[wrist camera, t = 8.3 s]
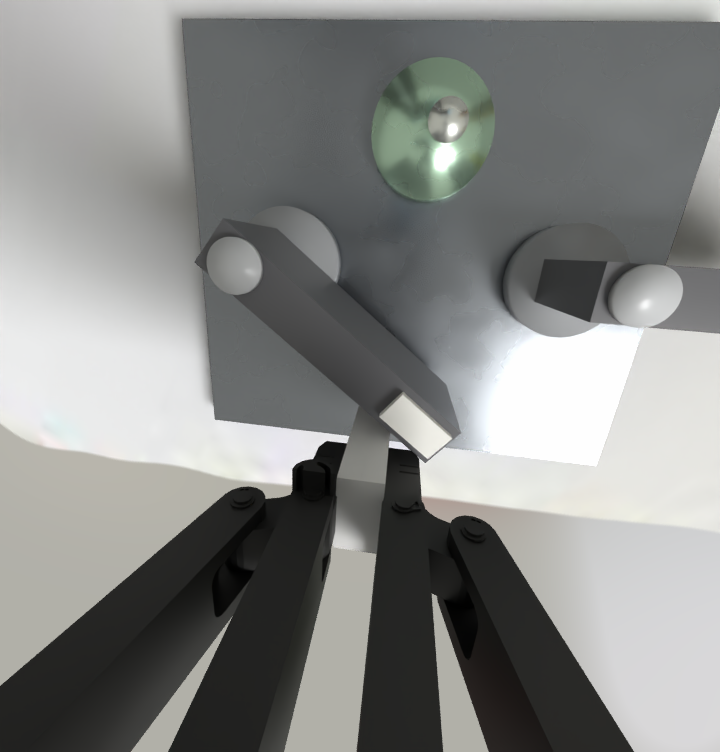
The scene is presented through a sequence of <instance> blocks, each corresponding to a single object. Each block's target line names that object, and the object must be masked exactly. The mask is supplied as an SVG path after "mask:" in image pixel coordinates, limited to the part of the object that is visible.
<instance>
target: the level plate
mask: <svg viewBox="0 0 720 752" xmlns="http://www.w3.org/2000/svg"><path fill="white" fill-rule="evenodd" d="M182 24H183V37H184V49H185V61H186V73H187V85H188V98H189V110H190V122H191V134H192V146H193V158H194V171H195V183H196V195H197V207H198V219H199V232H200V244H201V251H202V250H203V248H204V247H205V245H206V244H207V242H208V240H209V239H210V237H211V236H212V234H213V233H214V231H215V230H216V228H217V226H218V225H219V223H220V222H221V220H222V219H223V218H226V219H231V220H236V221H241V222H246V223H248V222H249V221H250V220H251V219H252V218H253V217H254V216H255V215H257V214H258V213H259V212H261V211H263V210H265V209H268V208H271V207H276V206H290V207H295V208H298V209H301V210H303V211H306V212H308V213H310V214H312V215H314V216H316V217H317V218H319V219H320V220H321V221H322V222H324V223H325V225H326V226H327V227H328V228H329V229H330V231H331V232H332V233H333V235H334V237H335V239H336V241H337V244H338V246H339V250H340V256H341V271H340V276H339V280H338V282H337V284H338V285H339V286H340V287H341V288H342V289H343V290H344V291H345V292H346V293H348V294H349V295H350V296H351V297H352V298H353V299H354V300H355V301H356V302H357V303H358V304H360V305H361V306H362V307H363V308H364V309H365V310H366V311H367V312H368V313H369V314H370V315H371V316H373V317H374V318H375V319H376V320H377V321H378V322H379V323H380V324H381V325H382V326H383V327H384V328H386V329H387V330H388V331H389V332H390V333H391V334H392V335H393V336H394V337H395V338H396V339H398V340H399V341H400V342H401V343H402V344H403V345H404V346H405V347H406V348H407V349H408V350H409V351H411V352H412V353H413V354H414V355H415V356H416V357H417V358H418V359H419V360H420V361H421V362H422V363H424V364H425V365H426V366H427V367H428V368H429V369H430V370H431V371H432V372H433V373H434V374H436V375H437V376H438V377H439V378H440V379H441V380H442V381H443V382H444V383H445V384H446V385H447V388H448V392H449V395H450V398H451V401H452V405H453V408H454V411H455V414H456V418H457V421H458V424H459V427H460V431H461V434H460V435H458V436H457V437H456V438H455V439H454V440H452V441H451V442H450V443H449V444H447V445H446V446H445V447H446V448H454V449H462V450H470V451H478V452H487V453H495V454H503V455H511V456H520V457H528V458H536V459H544V460H553V461H561V462H569V463H577V464H585V465H594V466H596V465H597V462H598V459H599V456H600V454H601V451H602V448H603V445H604V442H605V439H606V436H607V433H608V430H609V427H610V424H611V422H612V419H613V416H614V413H615V410H616V407H617V404H618V401H619V398H620V395H621V392H622V390H623V387H624V384H625V381H626V378H627V375H628V372H629V369H630V366H631V363H632V360H633V358H634V355H635V352H636V349H637V346H638V343H639V340H640V337H641V334H642V331H643V328H634V327H630V326H625V325H613V324H599V325H598V326H596V327H595V328H593V329H591V330H589V331H587V332H585V333H582V334H579V335H576V336H571V337H563V338H558V337H548V336H544V335H541V334H538V333H536V332H534V331H532V330H531V329H529V328H527V327H526V326H524V325H522V324H521V323H520V322H518V321H517V320H516V319H515V318H514V317H513V316H512V315H511V313H510V311H509V310H508V308H507V306H506V304H505V300H504V296H503V278H504V274H505V270H506V268H507V265H508V263H509V261H510V259H511V257H512V256H513V254H514V253H515V252H516V250H517V249H518V248H519V247H520V246H521V245H522V244H523V243H524V242H525V241H526V240H527V239H529V238H530V237H532V236H533V235H534V234H536V233H538V232H540V231H542V230H545V229H547V228H550V227H554V226H559V225H564V224H570V223H591V224H595V225H598V226H601V227H603V228H605V229H607V230H609V231H610V232H612V233H613V234H614V235H615V236H616V237H617V238H618V239H619V240H620V241H621V243H622V244H623V246H624V248H625V249H626V252H627V255H628V258H629V263H637V264H652V265H665V264H666V262H667V259H668V256H669V253H670V250H671V247H672V244H673V241H674V238H675V235H676V233H677V230H678V227H679V224H680V221H681V218H682V215H683V212H684V209H685V206H686V203H687V201H688V198H689V195H690V192H691V189H692V186H693V183H694V180H695V177H696V174H697V171H698V169H699V166H700V163H701V160H702V157H703V154H704V151H705V148H706V145H707V142H708V139H709V137H710V134H711V131H712V128H713V125H714V122H715V119H716V116H717V113H718V110H719V107H720V22H617V21H464V20H311V19H182ZM203 280H204V293H205V305H206V317H207V329H208V341H209V354H210V366H211V378H212V390H213V402H214V414H215V420H223V421H232V422H240V423H248V424H256V425H265V426H273V427H281V428H289V429H297V430H306V431H314V432H322V433H330V434H339V435H347V436H350V433H351V430H352V427H353V423H354V420H355V417H356V414H357V410H358V407H359V405H358V404H357V403H356V402H355V401H353V400H352V399H351V398H350V397H349V396H348V395H346V394H345V393H344V392H343V391H342V390H341V389H340V388H338V387H337V386H336V385H335V384H334V383H333V382H332V381H330V380H329V379H328V378H327V377H326V376H325V375H324V374H322V373H321V372H320V371H319V370H318V369H317V368H315V367H314V366H313V365H312V364H311V363H310V362H309V361H307V360H306V359H305V358H304V357H303V356H302V355H301V354H299V353H298V352H297V351H296V350H295V349H294V348H292V347H291V346H290V345H289V344H288V343H287V342H286V341H284V340H283V339H282V338H281V337H280V336H279V335H278V334H276V333H275V332H274V331H273V330H272V329H271V328H269V327H268V326H267V325H266V324H265V323H264V322H263V321H261V320H260V319H259V318H258V317H257V316H256V315H255V314H253V313H252V312H251V311H250V310H249V309H248V308H247V307H245V306H244V305H243V304H242V303H241V302H240V301H238V300H237V299H236V298H235V297H234V296H233V295H232V294H229V293H226V292H224V291H222V290H221V289H219V288H218V287H217V286H216V285H215V284H214V282H213V281H212V279H211V278H210V276H209V274H207V273H206V272H205V271H204V270H203ZM389 441H396V442H400V441H399V440H398V439H397V438H396V437H395V436H394V435H392V434H391V433H390V437H389Z"/></svg>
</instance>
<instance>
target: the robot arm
mask: <svg viewBox="0 0 720 752" xmlns="http://www.w3.org/2000/svg"><path fill="white" fill-rule="evenodd" d="M389 437H390V432H389V431H388V430H387V429H386V428H384V427H383V426H382V425H381V424H380V423H379V422H378V421H376V420H375V419H374V418H373V417H372V416H371V415H369V414H368V413H367V412H366V411H365V410H364V409H363V408H361V407H360V406H359V407H358V410H357V414H356V417H355V420H354V423H353V427H352V430H351V433H350V436H349V439H348V443H347V444H346V443H338V442H330V441H326V442H325V443H324V444H322V445H321V446H320V447H319V448H318V450H317V452H316V454H315V457H314V459H310V460H305V461H302V462H300V463H298V464H296V465H295V466H294V468H293V469H292V490H293V491H292V493H291V495H288V496H285V497H281V498H271V499H265V495H264V493H263V492H262V491H261V490H259V489H257V488H254V487H240V488H237V489H234V490H231V491H230V492H228V493H227V494H225V495H224V496H223V497H221V498H220V499H219V500H218V501H217V502H216V503H214V504H213V505H212V506H211V507H210V508H208V509H207V510H206V511H205V512H204V513H203V514H201V515H200V516H199V517H198V518H197V519H196V520H194V521H193V522H192V523H191V524H190V525H188V526H187V527H186V528H185V529H184V530H183V531H181V532H180V533H179V534H178V535H177V536H176V537H175V538H173V539H172V540H171V541H170V542H168V543H167V544H166V545H165V546H164V547H163V548H162V549H160V550H159V551H158V552H157V553H156V554H154V555H153V556H152V557H151V558H150V559H149V560H147V561H146V562H145V563H144V564H143V565H142V566H140V567H139V568H138V569H137V570H136V571H134V572H133V573H132V574H131V575H130V576H129V577H128V578H126V579H125V580H124V581H123V582H122V583H120V584H119V585H118V586H117V587H116V588H115V589H113V590H112V591H111V592H110V593H109V594H108V595H106V596H105V597H104V598H103V599H102V600H101V601H99V602H98V603H97V604H96V605H95V606H94V607H92V608H91V609H90V610H89V611H88V612H86V613H85V614H84V615H83V616H82V617H80V618H79V619H78V620H77V621H76V622H75V623H73V624H72V625H71V626H70V627H69V628H68V629H66V630H65V631H64V632H63V633H62V634H61V635H59V636H58V637H57V638H56V639H55V640H54V641H53V642H51V643H50V644H49V645H48V646H46V647H45V648H44V649H43V650H42V651H41V652H39V654H37V655H36V656H35V657H34V658H33V659H31V660H30V661H29V662H28V663H27V664H25V665H24V666H23V667H22V668H21V669H20V670H18V671H17V672H16V673H15V674H14V675H13V676H11V677H10V678H9V679H8V680H7V681H6V682H4V683H3V684H2V685H1V686H0V752H131V751H132V749H133V748H134V747H135V745H136V744H137V743H138V741H139V740H140V739H141V737H142V736H143V735H144V733H145V732H146V730H147V729H148V728H149V727H150V725H151V724H152V722H153V721H154V720H155V719H156V717H157V716H158V715H159V713H160V712H161V710H162V709H163V708H164V707H165V705H166V704H167V703H168V701H169V700H170V699H171V697H172V696H173V695H174V693H175V692H176V691H177V689H178V688H179V687H180V685H181V684H182V682H183V681H184V680H185V679H186V677H187V676H188V675H189V673H190V672H191V671H192V669H193V668H194V667H195V665H196V664H197V662H198V661H199V660H200V659H201V657H202V656H203V655H204V653H205V652H206V651H207V649H208V648H209V647H210V645H211V644H212V643H213V641H214V640H215V639H216V637H217V636H218V634H219V633H220V632H221V631H222V629H223V628H224V627H225V625H226V624H227V623H228V621H229V620H230V618H231V617H232V616H233V617H232V619H231V621H230V623H229V625H228V627H227V630H226V632H225V634H224V636H223V638H222V640H221V642H220V644H219V646H218V648H217V650H216V652H215V655H214V657H213V659H212V661H211V663H210V665H209V667H208V669H207V671H206V673H205V676H204V678H203V680H202V682H201V684H200V686H199V688H198V690H197V692H196V694H195V697H194V699H193V701H192V703H191V705H190V707H189V709H188V711H187V713H186V716H185V718H184V720H183V722H182V724H181V726H180V728H179V730H178V732H177V735H176V737H175V739H174V741H173V743H172V745H171V747H170V749H169V751H168V752H284V749H285V745H286V741H287V737H288V733H289V729H290V724H291V720H292V716H293V712H294V708H295V704H296V700H297V696H298V692H299V688H300V683H301V679H302V675H303V671H304V667H305V663H306V659H307V655H308V651H309V647H310V642H311V638H312V634H313V630H314V626H315V621H316V618H317V614H318V610H319V606H320V601H321V597H322V593H323V589H324V585H325V581H326V577H327V573H328V569H329V564H330V558H331V546H332V543H333V547H335V548H342V549H348V550H355V551H362V552H368V553H375V554H377V555H376V565H375V574H374V583H373V594H372V604H371V614H370V625H369V634H368V645H367V654H366V664H365V674H364V684H363V694H362V704H361V714H360V723H359V734H358V744H357V752H443V745H442V732H441V717H440V705H439V704H440V703H439V690H438V676H437V662H436V649H435V636H434V622H433V607H432V594H434V595H436V596H437V600H438V603H439V606H440V610H441V613H442V615H443V618H444V621H445V624H446V627H447V630H448V633H449V636H450V639H451V642H452V645H453V648H454V651H455V654H456V657H457V660H458V662H459V665H460V668H461V671H462V674H463V677H464V680H465V683H466V686H467V689H468V692H469V695H470V698H471V700H472V704H473V706H474V709H475V712H476V715H477V718H478V721H479V724H480V727H481V730H482V733H483V735H484V739H485V742H486V745H487V748H488V751H489V752H634V751H633V749H632V748H631V746H630V745H629V743H628V741H627V740H626V738H625V737H624V735H623V733H622V732H621V730H620V729H619V727H618V725H617V724H616V722H615V721H614V719H613V717H612V716H611V714H610V713H609V711H608V710H607V708H606V706H605V705H604V703H603V702H602V700H601V698H600V697H599V695H598V694H597V692H596V691H595V689H594V687H593V686H592V684H591V682H590V681H589V680H588V678H587V676H586V675H585V673H584V671H583V670H582V668H581V667H580V665H579V663H578V662H577V660H576V659H575V657H574V656H573V654H572V652H571V651H570V649H569V648H568V646H567V644H566V643H565V641H564V640H563V638H562V636H561V635H560V633H559V632H558V630H557V629H556V627H555V625H554V624H553V622H552V620H551V619H550V617H549V616H548V614H547V613H546V611H545V609H544V608H543V606H542V605H541V603H540V601H539V600H538V598H537V597H536V595H535V593H534V592H533V590H532V589H531V587H530V586H529V584H528V582H527V581H526V579H525V578H524V576H523V574H522V573H521V571H520V570H519V568H518V567H517V565H516V564H515V562H514V560H513V558H512V557H511V555H510V554H509V552H508V551H507V549H506V547H505V546H504V544H503V543H502V541H501V540H500V538H499V536H498V535H497V533H496V532H495V530H494V529H493V528H492V527H491V526H490V525H489V524H487V523H486V522H485V521H483V520H481V519H478V518H476V517H473V516H459V517H456V518H455V519H453V520H452V522H451V523H448V522H446V521H443V520H440V519H438V518H436V517H434V516H433V515H432V514H430V513H429V512H428V511H427V510H426V509H425V507H424V504H423V502H422V500H421V484H420V468H419V458H418V457H417V455H415V454H414V453H413V452H412V451H410V450H402V449H394V448H389ZM431 593H432V594H431Z"/></svg>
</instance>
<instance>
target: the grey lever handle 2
mask: <svg viewBox="0 0 720 752" xmlns="http://www.w3.org/2000/svg"><path fill="white" fill-rule="evenodd" d="M503 296H504V300H505V304H506V306H507V308H508V310H509V311H510V313H511V315H512V316H513V317H514V318H515V319H516V320H517V321H518V322H520V323H521V324H522V325H524V326H526V327H527V328H529V329H531V330H532V331H534V332H536V333H538V334H541V335H544V336H548V337H558V338H563V337H571V336H576V335H579V334H582V333H585V332H587V331H589V330H591V329H593V328H595V327H596V326H598V325H599V324H613V325H625V326H630V327H634V328H647V327H649V328H660V329H672V330H684V331H696V332H708V333H719V334H720V269H710V268H695V267H681V266H666V265H652V264H637V263H629V258H628V255H627V252H626V249H625V248H624V246H623V244H622V243H621V241H620V240H619V239H618V238H617V237H616V236H615V235H614V234H613V233H612V232H610V231H609V230H607V229H605V228H603V227H601V226H598V225H595V224H591V223H570V224H564V225H559V226H554V227H550V228H547V229H545V230H542V231H540V232H538V233H536V234H534V235H533V236H532V237H530V238H529V239H527V240H526V241H525V242H524V243H523V244H522V245H521V246H520V247H519V248H518V249H517V250H516V252H515V253H514V254H513V256H512V257H511V259H510V261H509V263H508V265H507V268H506V270H505V274H504V278H503Z"/></svg>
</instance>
